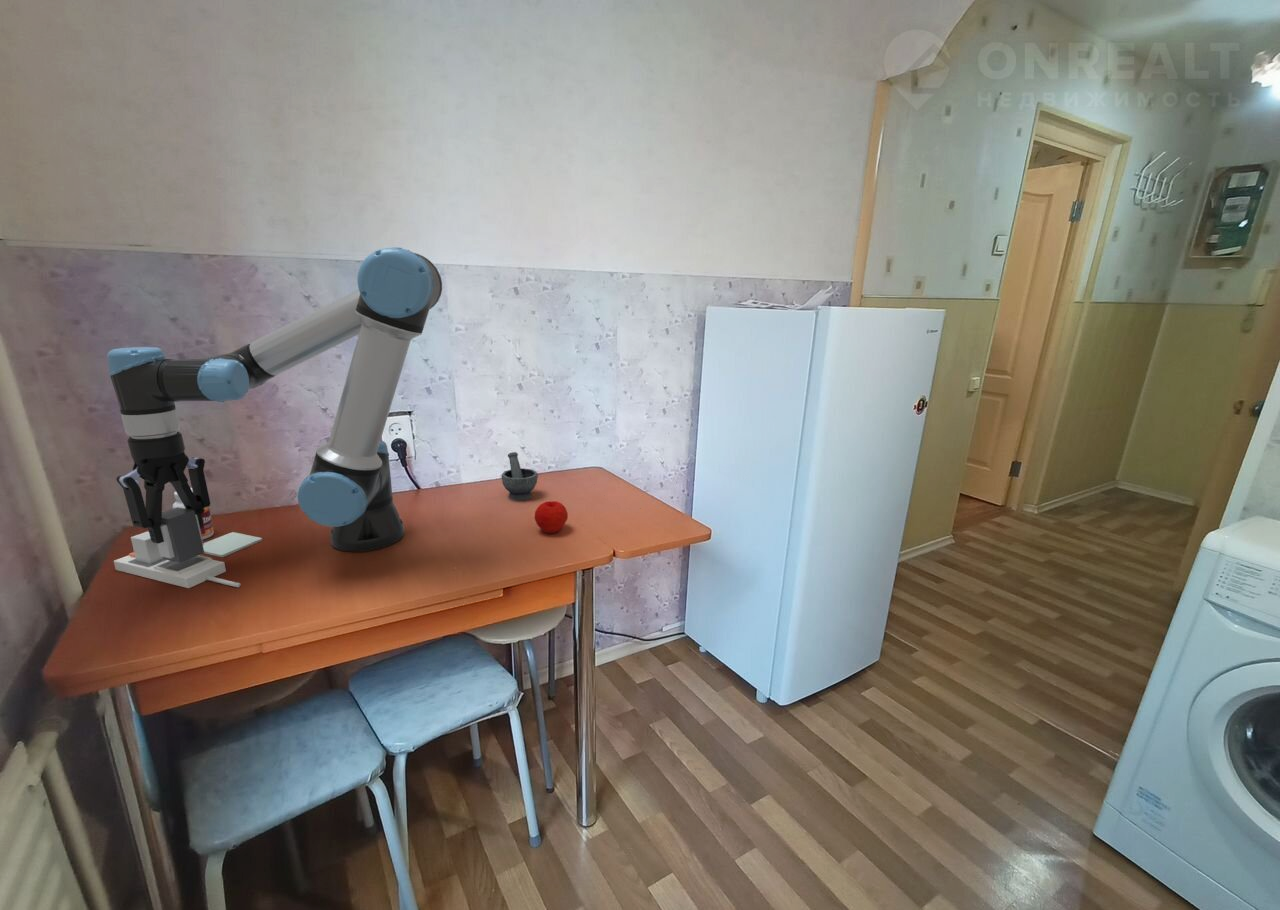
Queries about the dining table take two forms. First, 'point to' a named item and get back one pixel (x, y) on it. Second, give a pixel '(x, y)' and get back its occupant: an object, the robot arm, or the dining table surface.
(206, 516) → the pill bottle
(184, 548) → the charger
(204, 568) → the strip
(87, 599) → the dining table surface
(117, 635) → the dining table surface
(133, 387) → the robot arm
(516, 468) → the mortar and pestle
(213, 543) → the coaster
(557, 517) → the apple
